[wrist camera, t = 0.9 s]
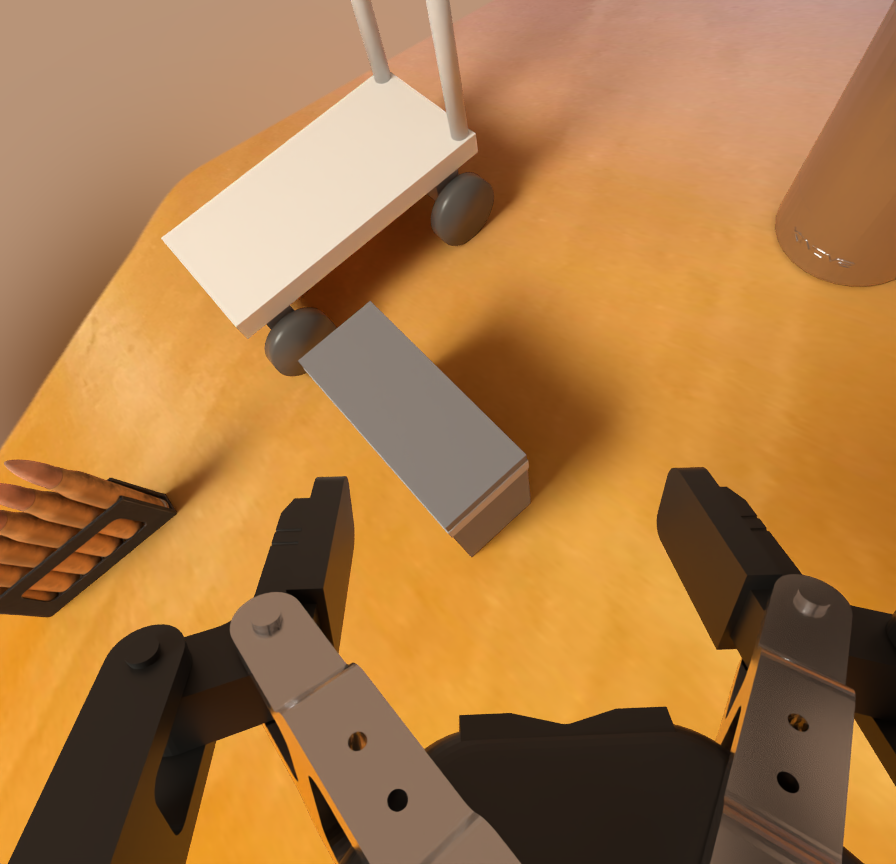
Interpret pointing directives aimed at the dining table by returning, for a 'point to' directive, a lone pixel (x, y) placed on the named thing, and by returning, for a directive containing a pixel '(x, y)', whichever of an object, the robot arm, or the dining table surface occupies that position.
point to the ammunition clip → (67, 533)
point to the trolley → (336, 196)
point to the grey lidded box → (422, 427)
